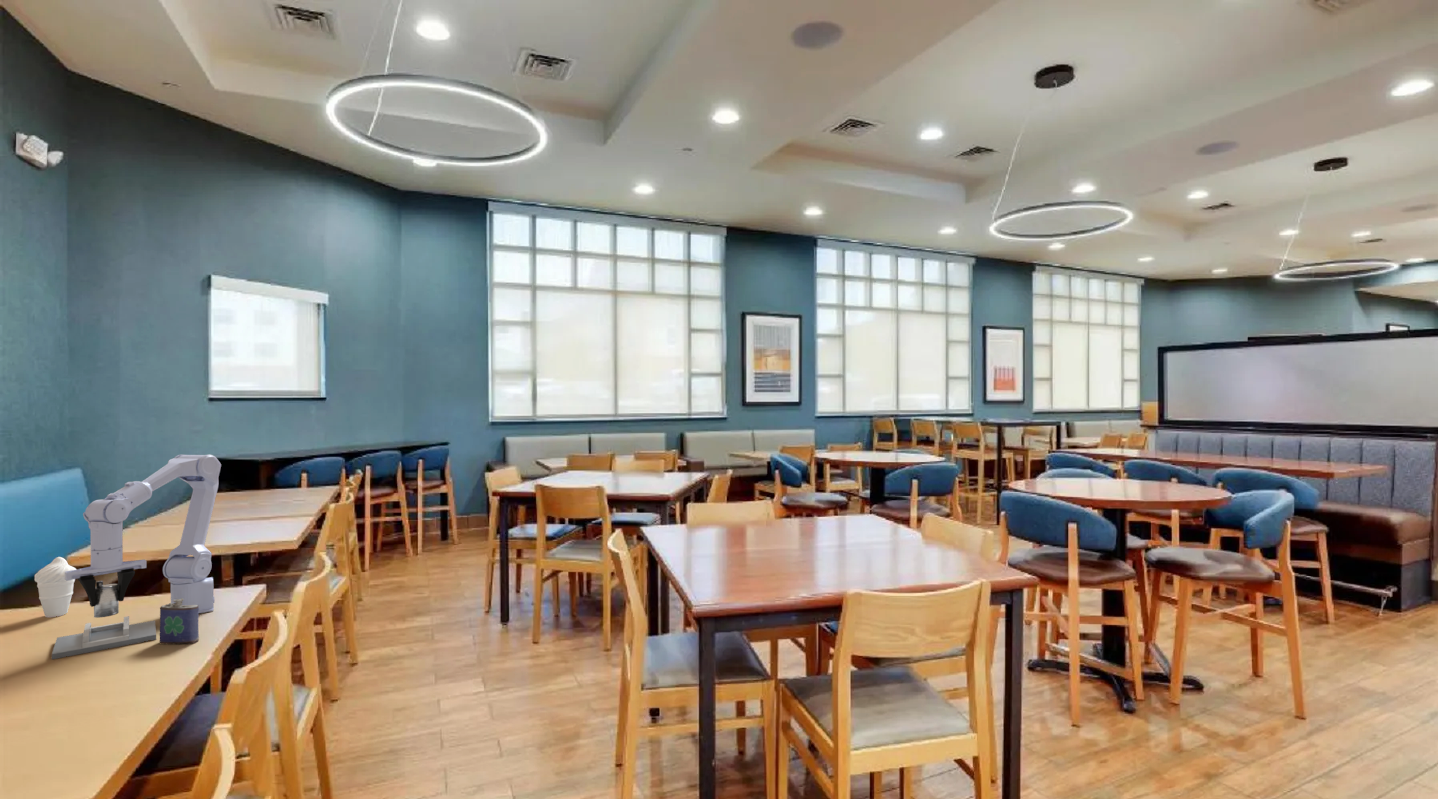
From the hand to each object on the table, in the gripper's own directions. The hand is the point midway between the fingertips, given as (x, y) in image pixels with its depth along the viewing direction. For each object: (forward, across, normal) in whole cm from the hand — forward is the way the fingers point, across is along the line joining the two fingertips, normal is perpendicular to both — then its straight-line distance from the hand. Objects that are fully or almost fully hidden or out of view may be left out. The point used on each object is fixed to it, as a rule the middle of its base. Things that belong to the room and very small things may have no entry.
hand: (106, 603), depth 158 cm
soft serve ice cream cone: (+10, +4, -37) cm, 39 cm away
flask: (+10, -10, +15) cm, 21 cm away
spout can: (+3, 0, 0) cm, 3 cm away
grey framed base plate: (+9, 0, 0) cm, 9 cm away
